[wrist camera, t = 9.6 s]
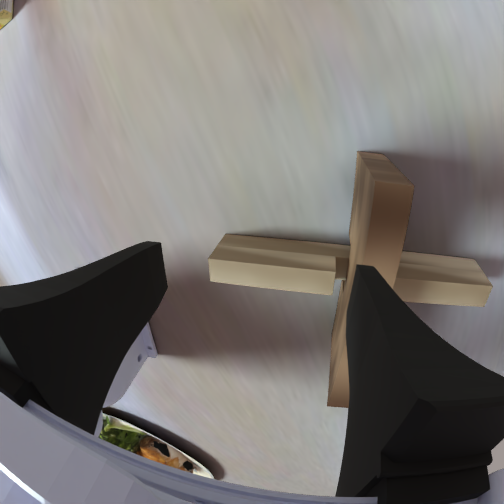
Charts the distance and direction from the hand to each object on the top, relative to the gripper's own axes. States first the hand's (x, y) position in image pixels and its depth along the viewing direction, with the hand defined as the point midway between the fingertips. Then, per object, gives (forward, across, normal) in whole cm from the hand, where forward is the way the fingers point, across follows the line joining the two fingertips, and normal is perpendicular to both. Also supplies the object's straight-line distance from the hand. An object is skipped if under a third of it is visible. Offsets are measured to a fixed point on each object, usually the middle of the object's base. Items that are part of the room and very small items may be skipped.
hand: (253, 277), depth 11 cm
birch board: (+9, -5, +4) cm, 11 cm away
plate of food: (+10, +22, +48) cm, 54 cm away
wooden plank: (+9, -5, +4) cm, 11 cm away
